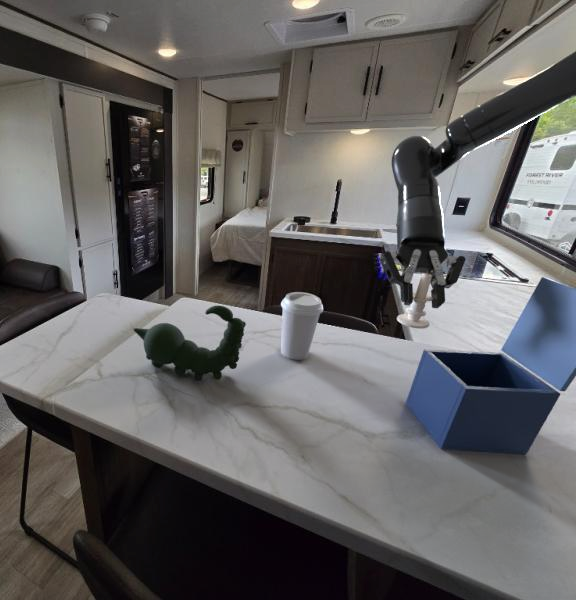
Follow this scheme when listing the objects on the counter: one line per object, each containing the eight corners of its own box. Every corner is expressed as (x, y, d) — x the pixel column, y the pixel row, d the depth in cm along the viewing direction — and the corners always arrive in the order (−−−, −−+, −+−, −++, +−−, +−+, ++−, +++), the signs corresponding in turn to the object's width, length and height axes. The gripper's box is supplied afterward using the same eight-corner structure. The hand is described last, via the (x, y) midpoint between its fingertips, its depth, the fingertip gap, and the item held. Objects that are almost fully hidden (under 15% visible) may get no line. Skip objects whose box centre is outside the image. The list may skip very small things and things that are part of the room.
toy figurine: (237, 374, 81) (140, 348, 87) (251, 302, 72) (143, 280, 79) (229, 399, 72) (123, 369, 79) (244, 322, 64) (125, 295, 71)
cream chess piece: (422, 317, 67) (437, 267, 63) (434, 330, 63) (451, 276, 58) (393, 315, 68) (406, 265, 64) (402, 327, 64) (417, 275, 59)
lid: (618, 306, 46) (624, 306, 46) (541, 276, 56) (546, 277, 56) (559, 391, 52) (565, 391, 52) (500, 350, 62) (505, 350, 62)
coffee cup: (298, 340, 92) (306, 288, 85) (322, 359, 83) (334, 303, 77) (267, 346, 89) (274, 293, 83) (289, 366, 81) (298, 309, 74)
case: (440, 449, 58) (466, 388, 53) (405, 403, 69) (423, 349, 64) (526, 454, 57) (561, 393, 52) (477, 407, 68) (501, 352, 62)
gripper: (385, 212, 66) (385, 293, 60) (472, 215, 62) (481, 302, 56) (373, 233, 73) (373, 308, 67) (451, 237, 69) (458, 316, 63)
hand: (422, 305), depth 62 cm, fingers closed on cream chess piece, 4 cm apart
